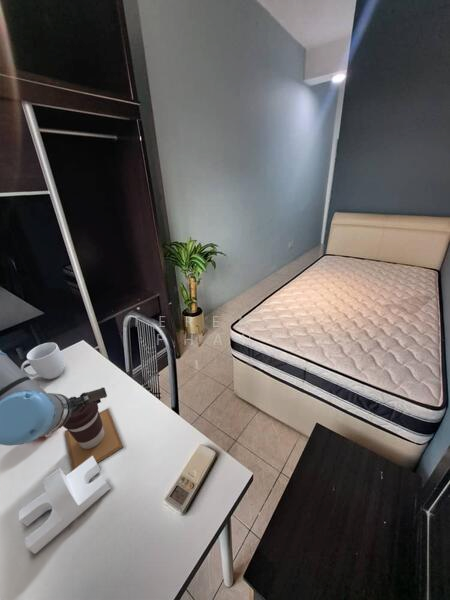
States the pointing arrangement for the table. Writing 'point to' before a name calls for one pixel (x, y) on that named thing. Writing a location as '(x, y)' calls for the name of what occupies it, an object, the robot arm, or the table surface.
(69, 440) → the placemat
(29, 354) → the mug
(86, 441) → the coffee cup
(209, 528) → the table surface
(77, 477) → the block with arch cutout
